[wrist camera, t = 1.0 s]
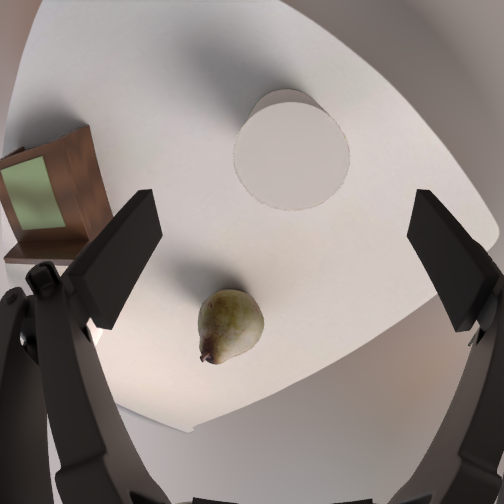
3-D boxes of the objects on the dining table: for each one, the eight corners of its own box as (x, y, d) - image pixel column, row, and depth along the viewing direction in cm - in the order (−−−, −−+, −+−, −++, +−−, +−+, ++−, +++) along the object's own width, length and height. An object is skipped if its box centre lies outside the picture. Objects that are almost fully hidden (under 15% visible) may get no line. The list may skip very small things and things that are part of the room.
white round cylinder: (312, 168, 32) (327, 222, 22) (241, 150, 31) (223, 195, 21) (334, 102, 27) (365, 124, 17) (259, 80, 26) (247, 88, 17)
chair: (16, 149, 31) (-30, 179, 23) (89, 125, 30) (35, 153, 21) (42, 225, 40) (5, 263, 31) (114, 219, 38) (76, 266, 30)
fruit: (198, 276, 43) (178, 341, 33) (262, 274, 42) (256, 344, 32) (212, 321, 49) (199, 382, 39) (268, 321, 47) (263, 385, 38)
